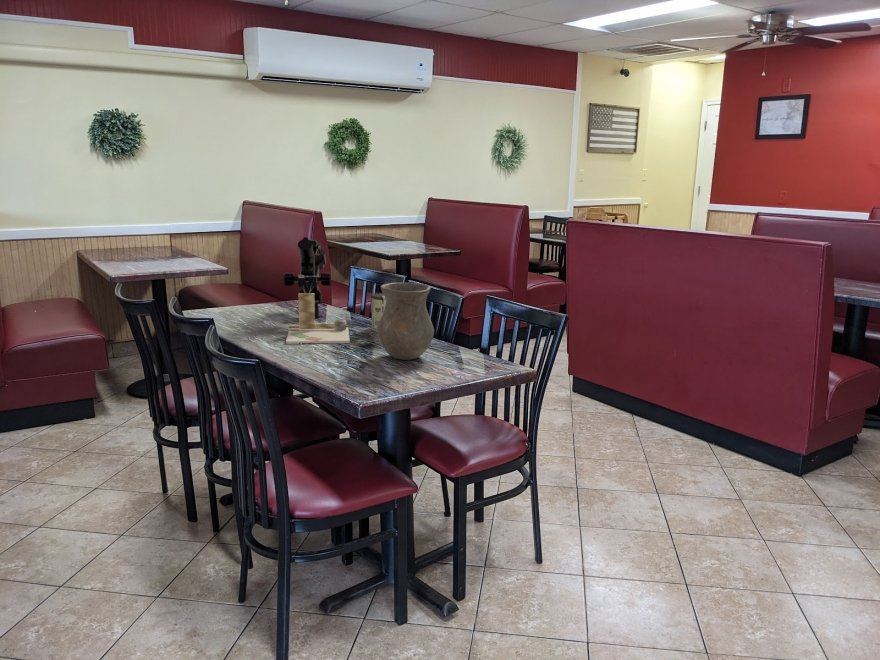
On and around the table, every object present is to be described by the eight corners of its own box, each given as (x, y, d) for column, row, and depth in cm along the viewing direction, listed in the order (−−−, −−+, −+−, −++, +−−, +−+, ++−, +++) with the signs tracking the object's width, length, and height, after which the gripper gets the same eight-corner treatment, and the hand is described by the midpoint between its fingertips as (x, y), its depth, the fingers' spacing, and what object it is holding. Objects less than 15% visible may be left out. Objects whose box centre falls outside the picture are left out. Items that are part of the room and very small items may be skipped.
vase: (442, 354, 244) (443, 284, 238) (420, 367, 226) (421, 292, 221) (391, 348, 251) (391, 279, 245) (366, 360, 233) (366, 287, 228)
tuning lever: (346, 327, 275) (345, 292, 272) (346, 329, 271) (346, 294, 268) (289, 327, 272) (288, 292, 269) (288, 330, 268) (287, 294, 264)
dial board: (348, 329, 277) (348, 326, 277) (349, 343, 256) (349, 339, 256) (289, 330, 274) (289, 327, 274) (286, 344, 253) (286, 340, 252)
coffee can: (397, 326, 285) (398, 292, 282) (395, 332, 275) (396, 297, 272) (372, 326, 285) (372, 292, 282) (369, 331, 275) (369, 296, 272)
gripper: (330, 276, 294) (331, 307, 286) (285, 276, 291) (284, 307, 283) (330, 260, 284) (330, 291, 276) (284, 260, 281) (282, 291, 273)
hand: (307, 296), depth 277 cm, fingers closed
